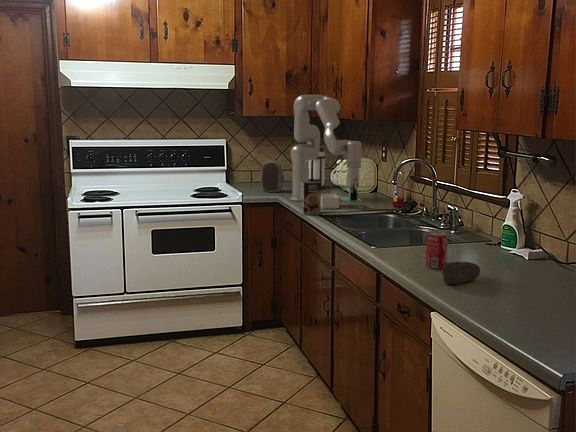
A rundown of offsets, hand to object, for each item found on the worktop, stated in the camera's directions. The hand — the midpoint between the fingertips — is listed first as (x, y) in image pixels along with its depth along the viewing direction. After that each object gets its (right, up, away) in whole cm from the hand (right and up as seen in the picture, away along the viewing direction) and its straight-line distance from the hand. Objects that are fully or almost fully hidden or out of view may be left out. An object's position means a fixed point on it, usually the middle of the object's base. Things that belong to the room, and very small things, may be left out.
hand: (353, 199), depth 321 cm
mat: (-1, -4, +8) cm, 9 cm away
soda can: (+17, -27, -110) cm, 115 cm away
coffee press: (-17, +9, +76) cm, 78 cm away
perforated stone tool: (+20, -30, -128) cm, 133 cm away
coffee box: (-23, -8, -12) cm, 27 cm away
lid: (-1, 0, +6) cm, 6 cm away
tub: (-12, -4, +7) cm, 15 cm away
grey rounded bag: (-44, +6, +60) cm, 74 cm away
